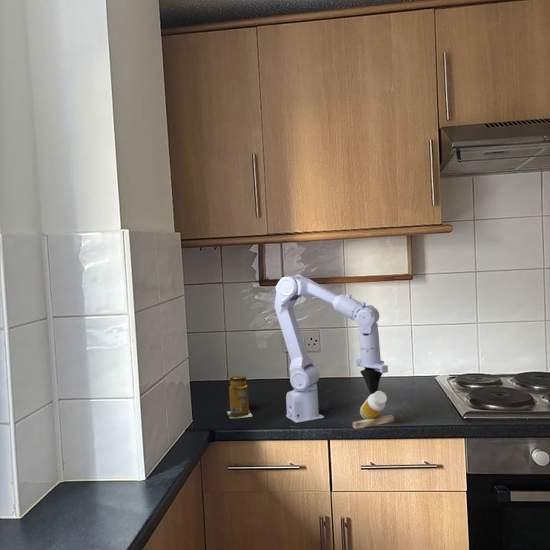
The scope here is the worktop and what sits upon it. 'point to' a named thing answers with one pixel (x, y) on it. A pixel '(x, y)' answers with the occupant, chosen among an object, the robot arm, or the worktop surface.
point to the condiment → (238, 398)
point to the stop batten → (373, 421)
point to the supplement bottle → (373, 405)
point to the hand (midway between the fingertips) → (373, 393)
